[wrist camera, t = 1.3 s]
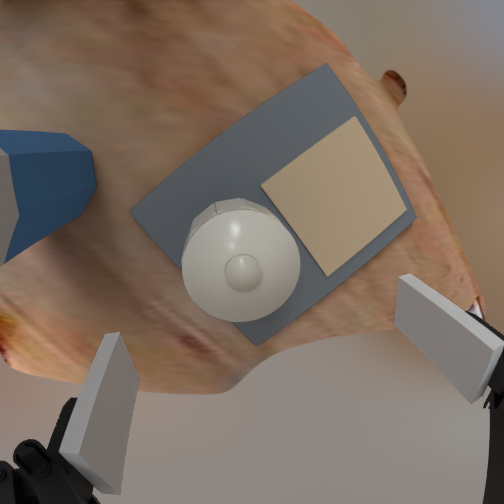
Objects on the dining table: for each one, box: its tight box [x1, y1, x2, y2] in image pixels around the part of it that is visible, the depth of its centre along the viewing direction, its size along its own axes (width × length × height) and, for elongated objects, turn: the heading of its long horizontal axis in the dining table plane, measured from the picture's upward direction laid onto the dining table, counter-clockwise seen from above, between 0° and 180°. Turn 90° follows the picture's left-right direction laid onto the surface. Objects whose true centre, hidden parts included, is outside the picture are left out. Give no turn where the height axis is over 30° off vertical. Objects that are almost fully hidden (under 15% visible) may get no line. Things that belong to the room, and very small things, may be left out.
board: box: [129, 63, 417, 346], centre depth 25 cm, size 20×24×9 cm
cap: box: [181, 198, 300, 322], centre depth 22 cm, size 8×8×6 cm
